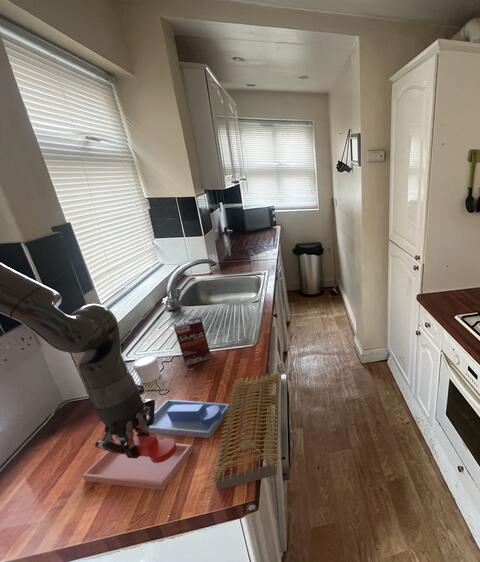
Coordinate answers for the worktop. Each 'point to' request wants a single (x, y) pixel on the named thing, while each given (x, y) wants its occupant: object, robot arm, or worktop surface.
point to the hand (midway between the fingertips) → (140, 450)
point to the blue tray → (185, 427)
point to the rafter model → (243, 406)
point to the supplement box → (192, 340)
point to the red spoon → (153, 447)
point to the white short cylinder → (147, 368)
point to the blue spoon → (194, 413)
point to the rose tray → (137, 469)
